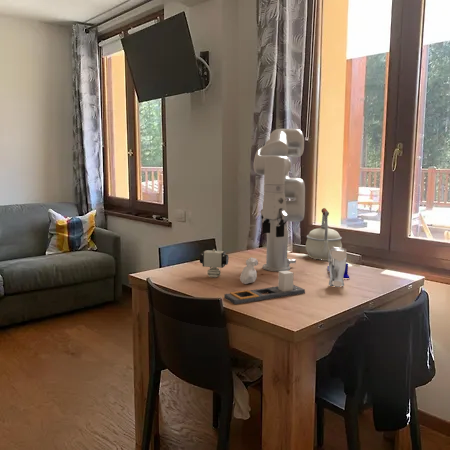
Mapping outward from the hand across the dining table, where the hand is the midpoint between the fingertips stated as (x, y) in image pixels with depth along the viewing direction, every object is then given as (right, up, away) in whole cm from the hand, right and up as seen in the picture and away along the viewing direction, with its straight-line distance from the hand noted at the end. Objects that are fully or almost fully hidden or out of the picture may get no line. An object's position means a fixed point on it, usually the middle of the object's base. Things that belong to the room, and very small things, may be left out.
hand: (272, 234), depth 170 cm
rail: (-3, -23, -3) cm, 23 cm away
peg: (+5, -22, +1) cm, 23 cm away
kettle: (+32, -14, +61) cm, 71 cm away
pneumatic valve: (-23, -19, +24) cm, 38 cm away
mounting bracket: (+32, -19, +30) cm, 47 cm away
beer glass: (+27, -21, +11) cm, 36 cm away
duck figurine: (-8, -20, +16) cm, 27 cm away
